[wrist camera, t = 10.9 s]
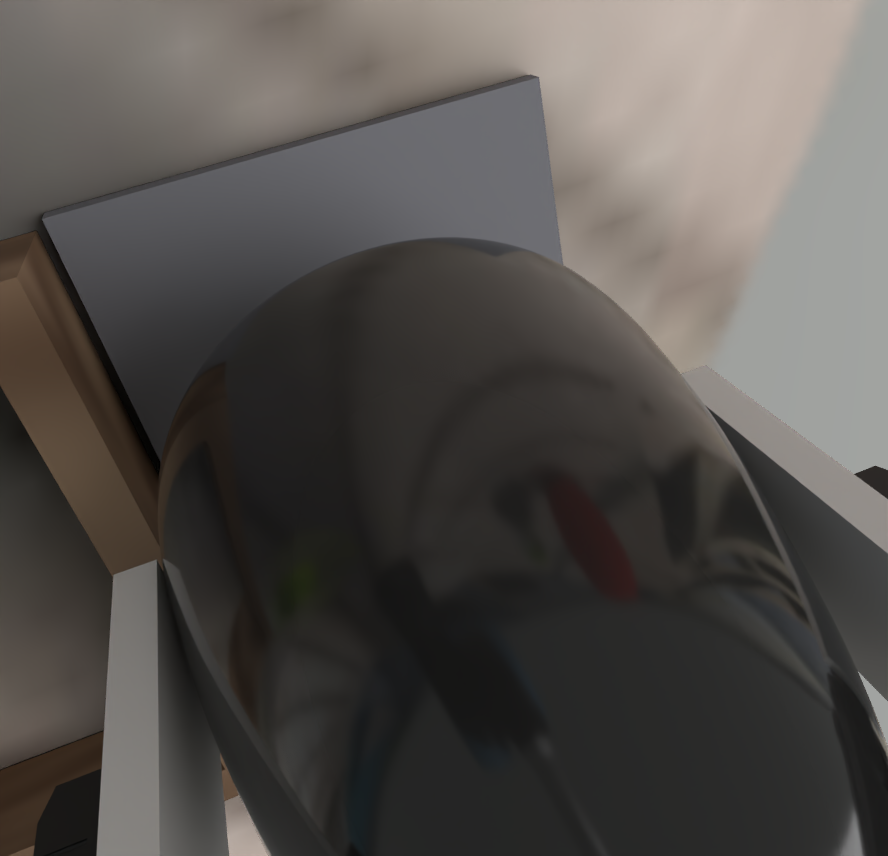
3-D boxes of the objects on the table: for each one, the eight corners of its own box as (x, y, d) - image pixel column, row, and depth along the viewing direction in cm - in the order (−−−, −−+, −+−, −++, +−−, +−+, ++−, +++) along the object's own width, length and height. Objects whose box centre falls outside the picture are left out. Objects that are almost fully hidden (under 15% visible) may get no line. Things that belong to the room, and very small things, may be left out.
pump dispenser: (318, 639, 22) (534, 1513, 10) (49, 357, 16) (-270, 1637, 4) (632, 443, 22) (1250, 1067, 10) (476, 90, 16) (1519, 521, 4)
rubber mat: (44, 212, 17) (42, 219, 16) (530, 74, 19) (538, 77, 18) (238, 612, 23) (239, 624, 23) (585, 484, 25) (592, 493, 25)
